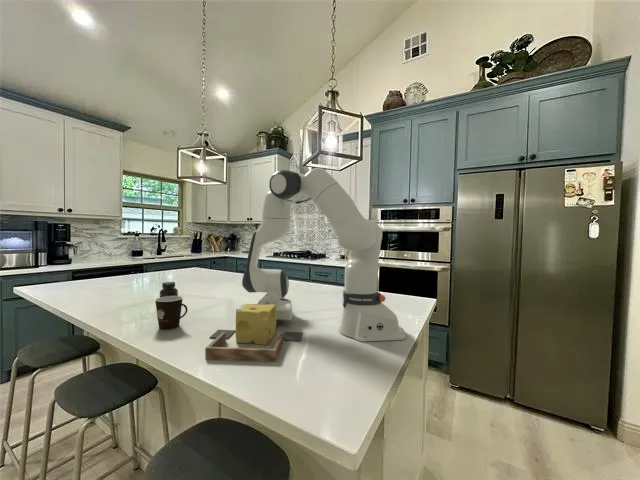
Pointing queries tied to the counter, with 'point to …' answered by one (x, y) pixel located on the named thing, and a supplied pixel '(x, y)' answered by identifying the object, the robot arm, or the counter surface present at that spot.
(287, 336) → the pads
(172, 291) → the supplement bottle
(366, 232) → the robot arm
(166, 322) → the coffee mug
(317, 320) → the counter surface
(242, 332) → the cheese
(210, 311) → the counter surface
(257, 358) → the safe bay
